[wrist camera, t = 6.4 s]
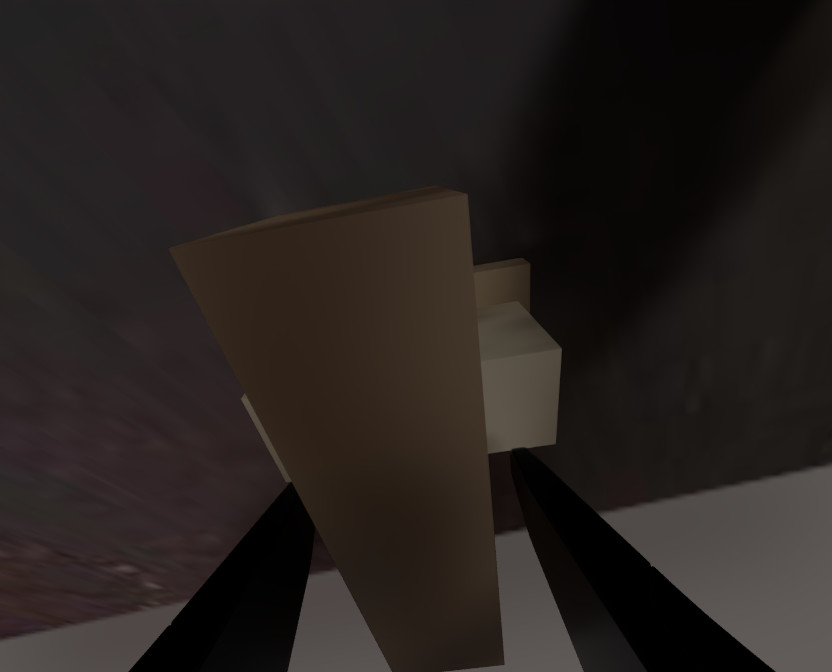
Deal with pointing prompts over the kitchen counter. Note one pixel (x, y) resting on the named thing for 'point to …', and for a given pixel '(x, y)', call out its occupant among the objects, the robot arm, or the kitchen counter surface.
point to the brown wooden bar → (372, 404)
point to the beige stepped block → (505, 363)
